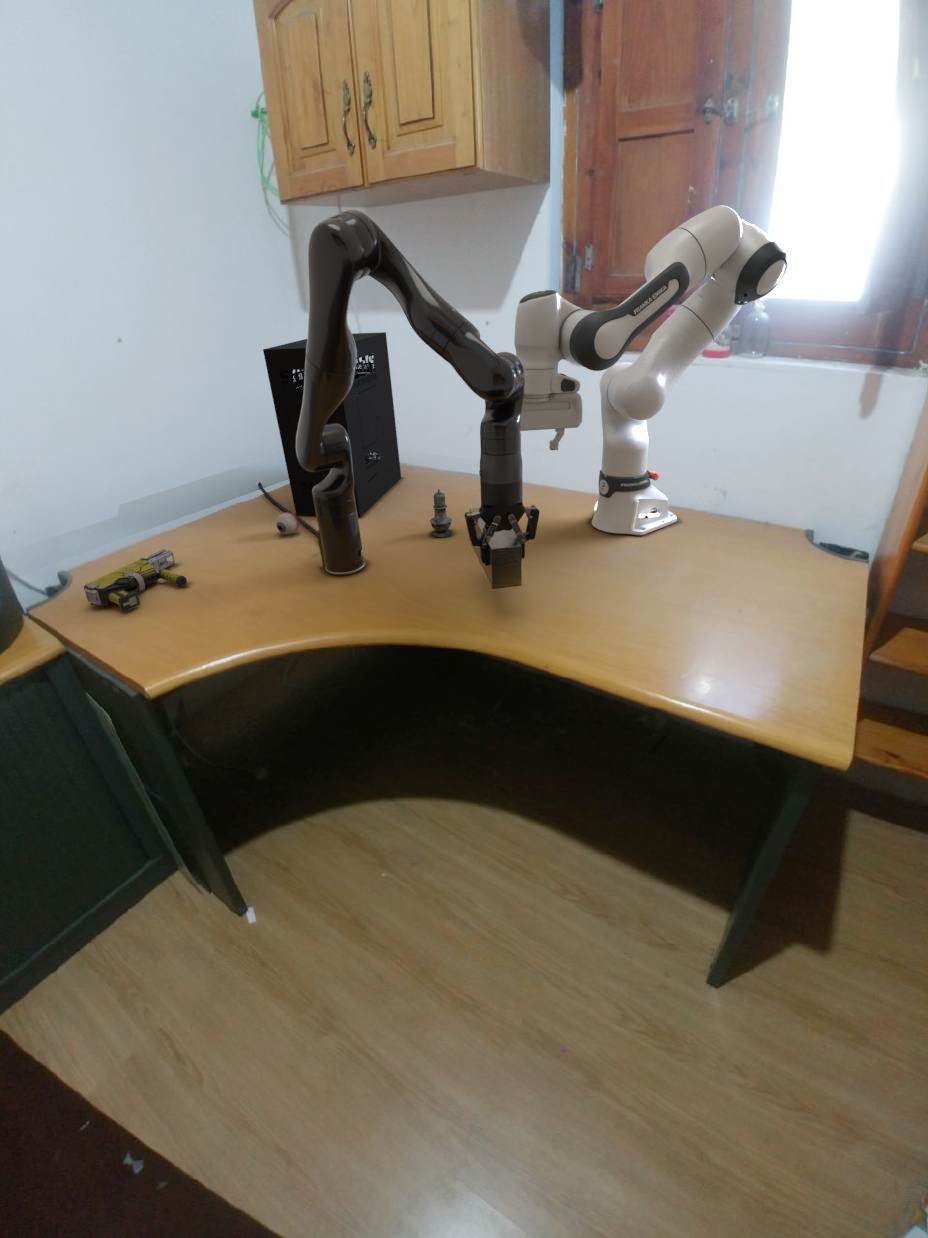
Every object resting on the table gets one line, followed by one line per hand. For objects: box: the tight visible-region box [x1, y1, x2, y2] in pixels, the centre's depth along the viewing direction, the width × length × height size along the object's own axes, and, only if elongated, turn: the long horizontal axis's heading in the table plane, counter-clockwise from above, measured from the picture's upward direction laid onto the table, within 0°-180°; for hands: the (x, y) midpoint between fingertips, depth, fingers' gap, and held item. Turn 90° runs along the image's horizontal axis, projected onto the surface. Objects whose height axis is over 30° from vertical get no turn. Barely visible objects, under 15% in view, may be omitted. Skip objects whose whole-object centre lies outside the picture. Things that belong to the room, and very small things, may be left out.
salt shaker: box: [429, 488, 453, 538], centre depth 157 cm, size 6×6×12 cm
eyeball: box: [275, 511, 300, 536], centre depth 163 cm, size 6×6×6 cm
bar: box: [469, 507, 523, 590], centre depth 122 cm, size 22×6×8 cm, turn 10°
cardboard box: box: [262, 331, 402, 518], centre depth 180 cm, size 38×20×45 cm, turn 167°
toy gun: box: [83, 548, 188, 613], centre depth 139 cm, size 5×24×15 cm
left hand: (502, 561), depth 115 cm, fingers closed on bar, 5 cm apart
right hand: (532, 450), depth 129 cm, fingers open, 8 cm apart
